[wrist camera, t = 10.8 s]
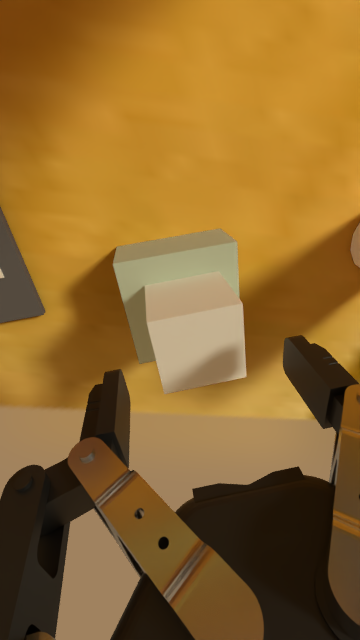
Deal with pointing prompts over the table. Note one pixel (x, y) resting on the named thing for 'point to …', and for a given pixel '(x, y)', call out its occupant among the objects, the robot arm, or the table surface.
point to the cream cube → (196, 331)
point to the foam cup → (356, 246)
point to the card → (15, 280)
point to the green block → (169, 273)
